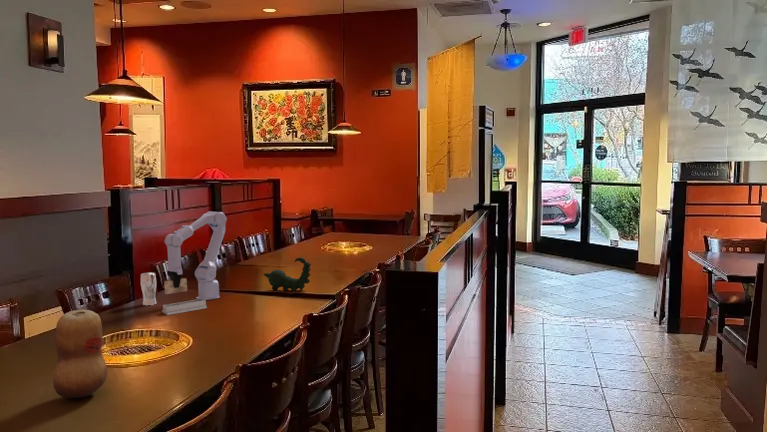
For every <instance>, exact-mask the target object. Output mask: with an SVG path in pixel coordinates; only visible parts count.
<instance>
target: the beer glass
mask: <svg viewBox="0 0 767 432" xmlns="http://www.w3.org/2000/svg"><path fill="white" fill-rule="evenodd" d="M156 276H157V275H156V272H151V271H150V272H143V273H141V274H140V287H141V291H142V292H141V293H142V298H143V300H142V306H144V307H145V306H148V305H150V306H155V305H156V304H157V299H156V291H157V277H156ZM154 304H155V305H154Z"/></svg>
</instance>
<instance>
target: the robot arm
mask: <svg viewBox="0 0 767 432" xmlns="http://www.w3.org/2000/svg"><path fill="white" fill-rule="evenodd" d="M227 220H228V219H227V216H226V215H225V213H224V212H223V211H207V212H206V213H203V214H202V216H200V217H199V218H197V219H196V220H195V221H193V222H192V223H190V224H185V225H184V224H183V225H181V227H180V228H179V229H177V230H174V231H173V233H168V234H167V235H166V236H165V239H164V240H163V242H164V244H165V245H166V248H167V262H168V263H167V264H168V265H167V268H166V269H165V271H166V272H167V275H168V277H169V279H170V280H173V285H174V288H179V286H180V281H181V279H183V278H182V277H183V275H184V272H183V268H182V258H181V257H182V254H181V253H182V252H181V246H182V245H183V242H184V241H185V240H187V239H188V238H190V237H191V236H193V235H194V232H195V231H197V230H198V229H200V228H202V227H203V226H205V225H208V226H209V227H211V229H212V235H211V237H210V242H209V244H208V247H207V250H206V252H205V255H204V259H203V260H202V261H201V262H200V263H199V265H198V266H197V268H196V269H195V271H194V276H195V278H196V280H197V285H198V286H197V287H198V289H197V290H198V296H196V297H195V298H196V299H204V300H206V301H209V300H215V299H220V298H221V296H220V284H219V281H218V280H217V279H216V276H217V269H218V268H217V265H216V264H215V263H216V260H217V258H218V255H219V251H220V248H221V245H222V242H223V239H224V237H225V234H226V223H227Z"/></svg>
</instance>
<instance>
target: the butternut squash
mask: <svg viewBox="0 0 767 432" xmlns="http://www.w3.org/2000/svg"><path fill="white" fill-rule="evenodd" d="M54 339H55V341H54V342H55V347H56V353H57V354H56V355H57V363H56V366H55V368H54V372H53V377H52V378H53V379H52V384H53V389H54V390H55V393H56V394H57V395H59V396H60V397H63V398H65V399H77V398H78V399H84V398H87V397H90V396H91V395H93V394H94V393H95V392H97V390H99V389H100V388H101V387H102V386H103V385H104V383H105V382H106V381H107V373H108V372H107V371H108V370H107V363H106V360H105V358H104V356H103V354H102V346H103V342H104V337H103V326H102V320H101V317H100V316H99V314H98V313H96V312H95V311H93V310H89V309H77V310H70V311H68V312H66V313H64V314H62V315H61V317H60V318H59V319H58V321H57V323H56V328H55V337H54Z"/></svg>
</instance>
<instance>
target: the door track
mask: <svg viewBox="0 0 767 432" xmlns="http://www.w3.org/2000/svg"><path fill="white" fill-rule="evenodd" d="M206 301H207V300H204V299H197V298H196V299H191V300H186V301H178V302H174V303H167V304H163V305H162V310H161V311H162V313H163V314H165V315H167V316H170V315H171V316H172V315H176V314H182V313H187V312H193V311H199V310H205V309H208V307H207V306H208V305H207V302H206Z"/></svg>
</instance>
